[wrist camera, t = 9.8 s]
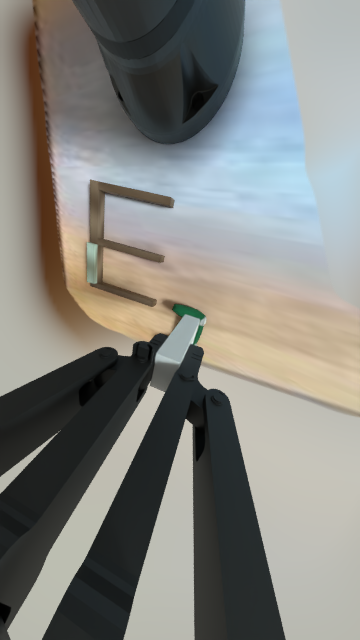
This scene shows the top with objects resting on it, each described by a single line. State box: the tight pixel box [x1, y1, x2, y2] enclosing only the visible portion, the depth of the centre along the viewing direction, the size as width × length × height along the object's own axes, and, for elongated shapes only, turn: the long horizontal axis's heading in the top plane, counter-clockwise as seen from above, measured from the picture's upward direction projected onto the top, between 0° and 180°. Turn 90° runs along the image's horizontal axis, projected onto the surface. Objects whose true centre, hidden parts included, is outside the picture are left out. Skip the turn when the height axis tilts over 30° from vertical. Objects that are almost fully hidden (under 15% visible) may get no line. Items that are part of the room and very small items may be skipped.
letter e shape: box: [87, 180, 174, 307], centre depth 29 cm, size 17×14×2 cm
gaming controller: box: [172, 304, 206, 346], centre depth 30 cm, size 9×4×6 cm
